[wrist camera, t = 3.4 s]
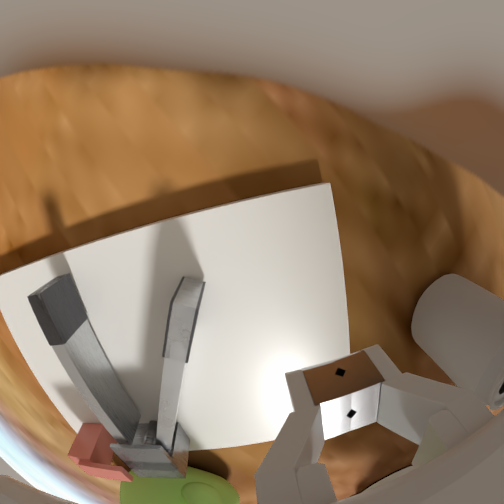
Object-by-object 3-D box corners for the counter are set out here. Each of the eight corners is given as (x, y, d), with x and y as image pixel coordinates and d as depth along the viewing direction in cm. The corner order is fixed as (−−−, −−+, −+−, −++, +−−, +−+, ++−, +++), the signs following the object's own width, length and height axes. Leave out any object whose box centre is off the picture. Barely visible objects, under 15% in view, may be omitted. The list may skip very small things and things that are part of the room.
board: (346, 409, 24) (350, 419, 22) (92, 438, 24) (88, 446, 22) (322, 182, 18) (330, 183, 16) (-2, 275, 18) (-11, 280, 16)
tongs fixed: (190, 439, 22) (185, 478, 17) (147, 441, 22) (138, 476, 17) (102, 262, 17) (67, 289, 12) (55, 276, 17) (18, 301, 12)
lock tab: (145, 442, 21) (134, 484, 16) (97, 439, 21) (83, 475, 16) (131, 424, 21) (117, 468, 15) (82, 422, 21) (65, 459, 15)
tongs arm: (177, 421, 20) (172, 453, 17) (161, 417, 20) (153, 449, 17) (205, 281, 17) (199, 309, 14) (182, 276, 17) (170, 301, 13)
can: (397, 301, 21) (490, 384, 9) (456, 254, 20) (554, 304, 9) (414, 355, 23) (481, 433, 11) (465, 312, 22) (540, 369, 10)
